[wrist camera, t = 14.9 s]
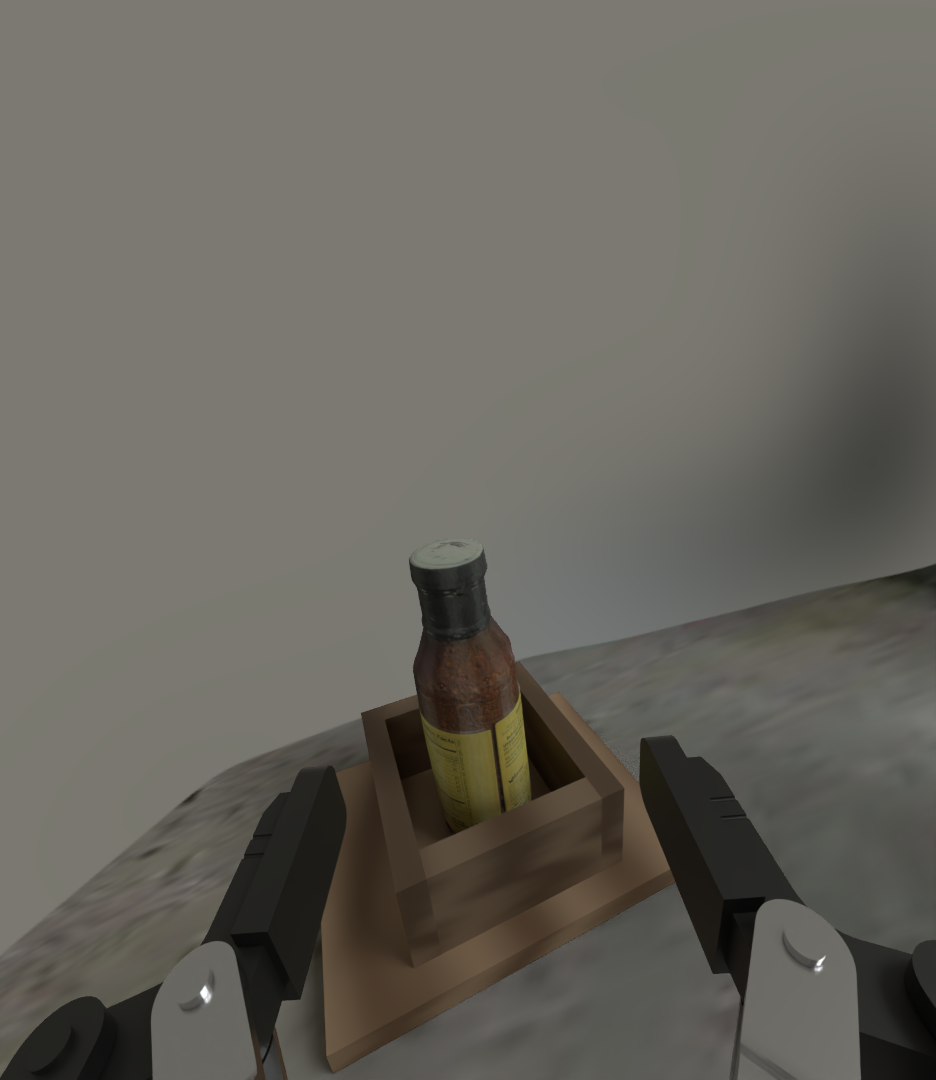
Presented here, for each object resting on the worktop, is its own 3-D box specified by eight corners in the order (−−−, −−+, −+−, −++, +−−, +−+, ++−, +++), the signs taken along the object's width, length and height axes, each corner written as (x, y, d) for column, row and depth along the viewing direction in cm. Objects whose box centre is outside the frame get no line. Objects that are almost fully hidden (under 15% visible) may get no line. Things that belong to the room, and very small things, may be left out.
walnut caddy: (559, 704, 41) (557, 637, 38) (698, 869, 27) (709, 779, 24) (319, 793, 34) (297, 719, 32) (333, 1073, 20) (294, 980, 18)
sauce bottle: (508, 762, 34) (487, 520, 27) (550, 834, 28) (537, 552, 21) (427, 795, 32) (382, 543, 25) (456, 880, 26) (408, 585, 19)
